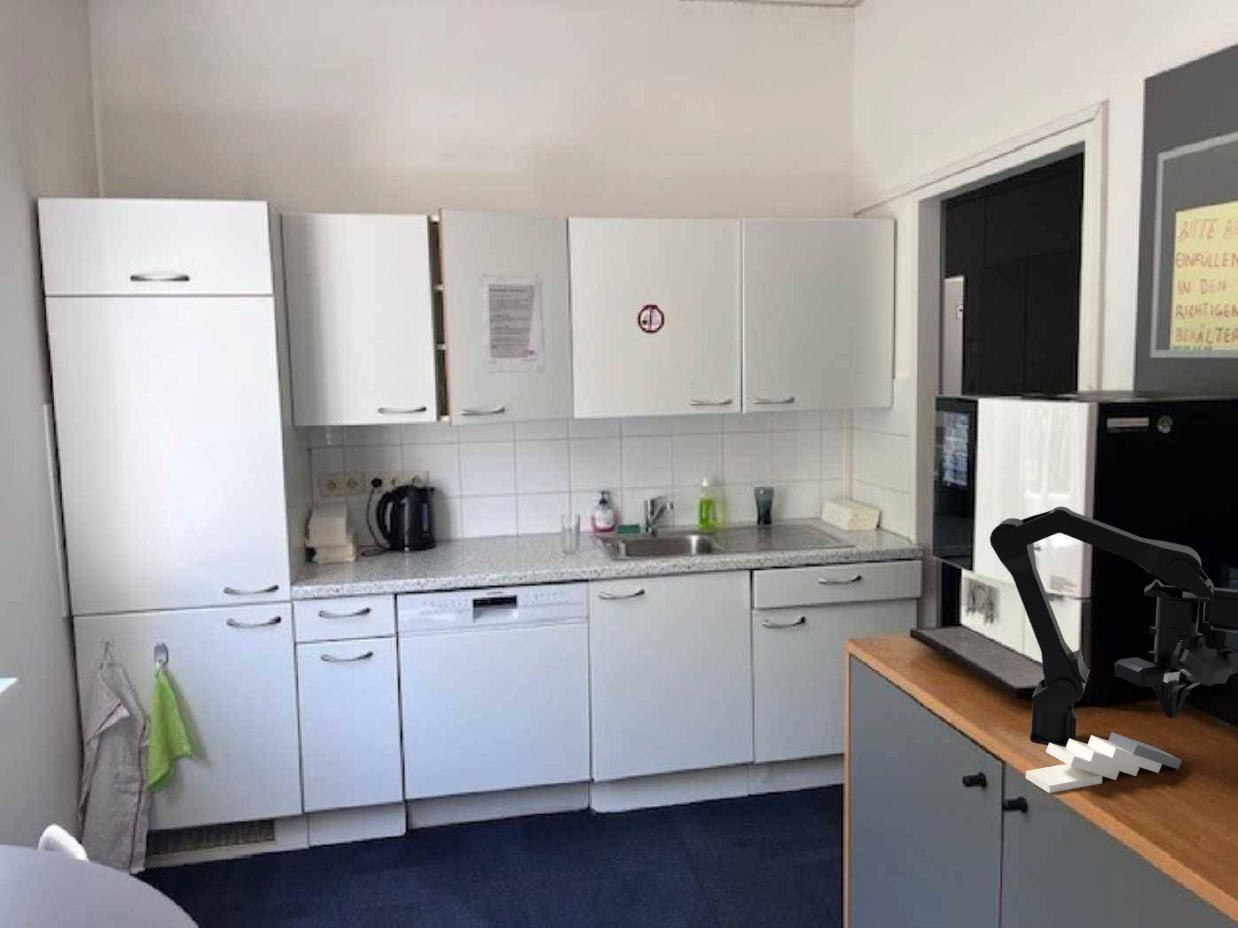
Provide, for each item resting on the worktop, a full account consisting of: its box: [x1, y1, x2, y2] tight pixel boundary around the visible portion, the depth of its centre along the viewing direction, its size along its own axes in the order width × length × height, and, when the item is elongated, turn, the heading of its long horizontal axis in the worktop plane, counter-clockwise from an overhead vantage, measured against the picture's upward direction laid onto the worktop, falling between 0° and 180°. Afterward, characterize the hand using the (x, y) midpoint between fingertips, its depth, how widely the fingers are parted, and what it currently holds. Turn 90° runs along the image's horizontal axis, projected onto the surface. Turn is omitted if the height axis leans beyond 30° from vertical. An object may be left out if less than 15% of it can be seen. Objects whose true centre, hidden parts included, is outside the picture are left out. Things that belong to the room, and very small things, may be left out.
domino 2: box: [1045, 743, 1120, 781], centre depth 139 cm, size 2×5×10 cm
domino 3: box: [1065, 738, 1140, 777], centre depth 140 cm, size 2×5×10 cm
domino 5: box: [1107, 731, 1182, 770], centre depth 142 cm, size 2×5×10 cm
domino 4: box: [1087, 734, 1163, 774], centre depth 141 cm, size 2×5×10 cm
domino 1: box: [1025, 763, 1103, 794], centre depth 138 cm, size 2×5×10 cm
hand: (1170, 717), depth 143 cm, fingers closed
